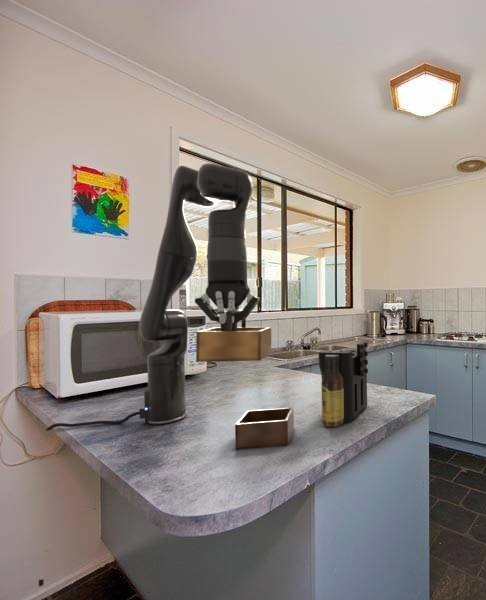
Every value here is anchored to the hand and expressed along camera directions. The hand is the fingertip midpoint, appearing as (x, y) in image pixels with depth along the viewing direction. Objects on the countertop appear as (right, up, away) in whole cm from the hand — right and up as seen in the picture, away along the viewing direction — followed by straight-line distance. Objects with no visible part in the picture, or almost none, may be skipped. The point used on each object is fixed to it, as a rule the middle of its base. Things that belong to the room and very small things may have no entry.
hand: (229, 340), depth 70 cm
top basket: (+2, -4, 0) cm, 4 cm away
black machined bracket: (+21, -27, +33) cm, 47 cm away
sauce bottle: (+18, -27, +23) cm, 40 cm away
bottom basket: (+2, -27, +14) cm, 30 cm away
